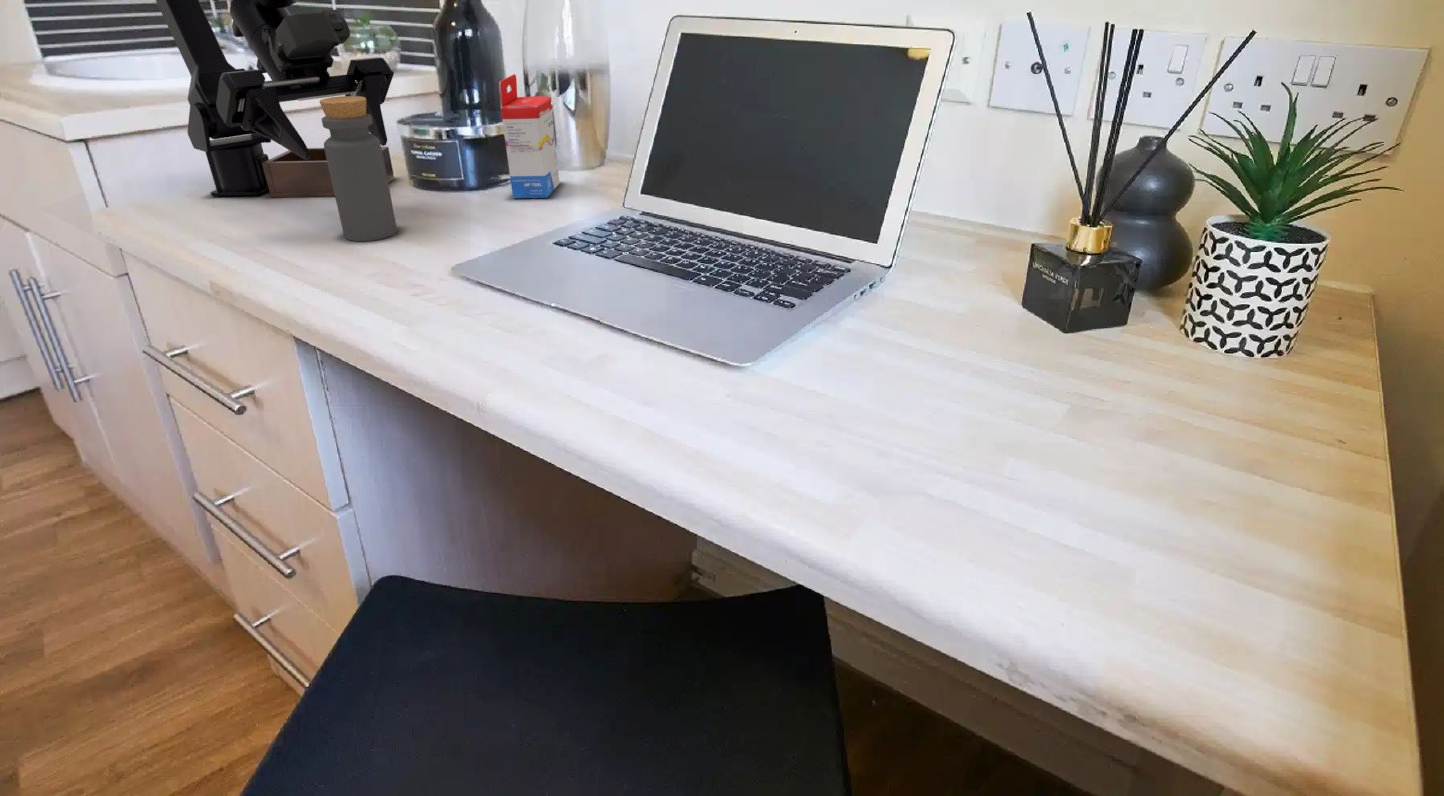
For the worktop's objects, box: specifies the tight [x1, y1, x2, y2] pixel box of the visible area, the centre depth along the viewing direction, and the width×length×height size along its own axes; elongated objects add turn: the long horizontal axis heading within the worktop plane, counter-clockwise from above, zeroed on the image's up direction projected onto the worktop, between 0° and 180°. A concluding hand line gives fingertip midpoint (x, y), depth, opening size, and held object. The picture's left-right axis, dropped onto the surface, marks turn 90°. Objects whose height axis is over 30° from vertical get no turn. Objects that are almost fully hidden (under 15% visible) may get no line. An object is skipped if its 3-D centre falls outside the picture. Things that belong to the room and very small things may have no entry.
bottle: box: [319, 95, 398, 242], centre depth 94 cm, size 6×6×15 cm
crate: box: [262, 146, 395, 198], centre depth 117 cm, size 14×10×5 cm
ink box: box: [498, 73, 560, 199], centre depth 112 cm, size 8×5×15 cm, turn 179°
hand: (347, 149), depth 94 cm, fingers open, 9 cm apart
